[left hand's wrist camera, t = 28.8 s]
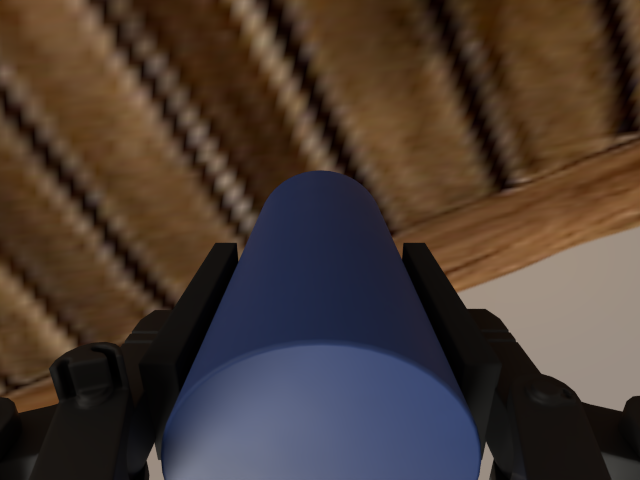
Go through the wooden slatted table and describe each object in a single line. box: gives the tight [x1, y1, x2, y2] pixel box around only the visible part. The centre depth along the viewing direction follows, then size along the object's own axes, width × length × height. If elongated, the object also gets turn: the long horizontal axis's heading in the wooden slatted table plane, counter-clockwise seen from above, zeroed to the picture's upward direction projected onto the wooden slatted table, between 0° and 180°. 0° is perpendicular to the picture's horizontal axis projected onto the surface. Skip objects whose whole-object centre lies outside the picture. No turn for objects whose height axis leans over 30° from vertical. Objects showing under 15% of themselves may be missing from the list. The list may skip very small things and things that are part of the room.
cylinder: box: [161, 171, 481, 480], centre depth 13 cm, size 6×6×13 cm
